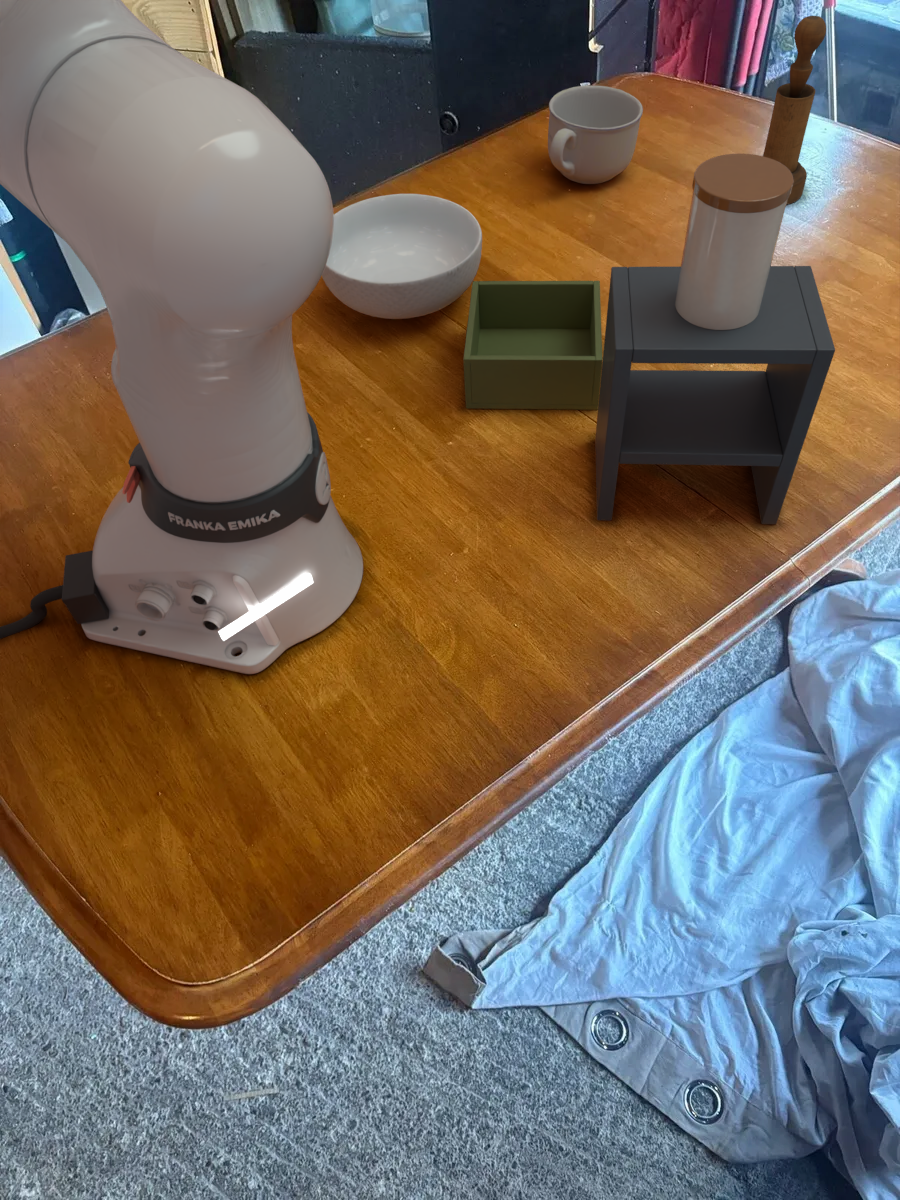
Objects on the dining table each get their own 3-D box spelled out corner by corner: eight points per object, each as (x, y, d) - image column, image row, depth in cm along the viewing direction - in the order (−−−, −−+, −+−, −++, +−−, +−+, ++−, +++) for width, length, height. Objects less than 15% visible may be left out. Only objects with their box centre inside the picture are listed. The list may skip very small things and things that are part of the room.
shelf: (597, 520, 74) (615, 349, 60) (595, 438, 80) (611, 266, 66) (776, 524, 72) (835, 349, 59) (760, 441, 78) (811, 265, 65)
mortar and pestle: (734, 197, 104) (769, 23, 89) (756, 172, 107) (794, 0, 92) (789, 211, 101) (834, 34, 87) (811, 185, 104) (857, 11, 90)
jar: (676, 331, 61) (698, 201, 54) (670, 281, 65) (690, 153, 57) (766, 331, 60) (800, 200, 53) (755, 281, 64) (786, 152, 57)
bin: (465, 408, 83) (463, 359, 79) (474, 330, 91) (472, 280, 86) (597, 410, 82) (602, 359, 78) (595, 330, 89) (599, 280, 85)
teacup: (587, 142, 114) (591, 75, 107) (654, 170, 108) (663, 100, 102) (510, 184, 108) (510, 115, 102) (576, 215, 103) (580, 144, 97)
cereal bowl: (357, 363, 88) (346, 300, 83) (304, 279, 98) (292, 218, 92) (510, 314, 92) (510, 251, 86) (445, 238, 102) (441, 177, 96)
